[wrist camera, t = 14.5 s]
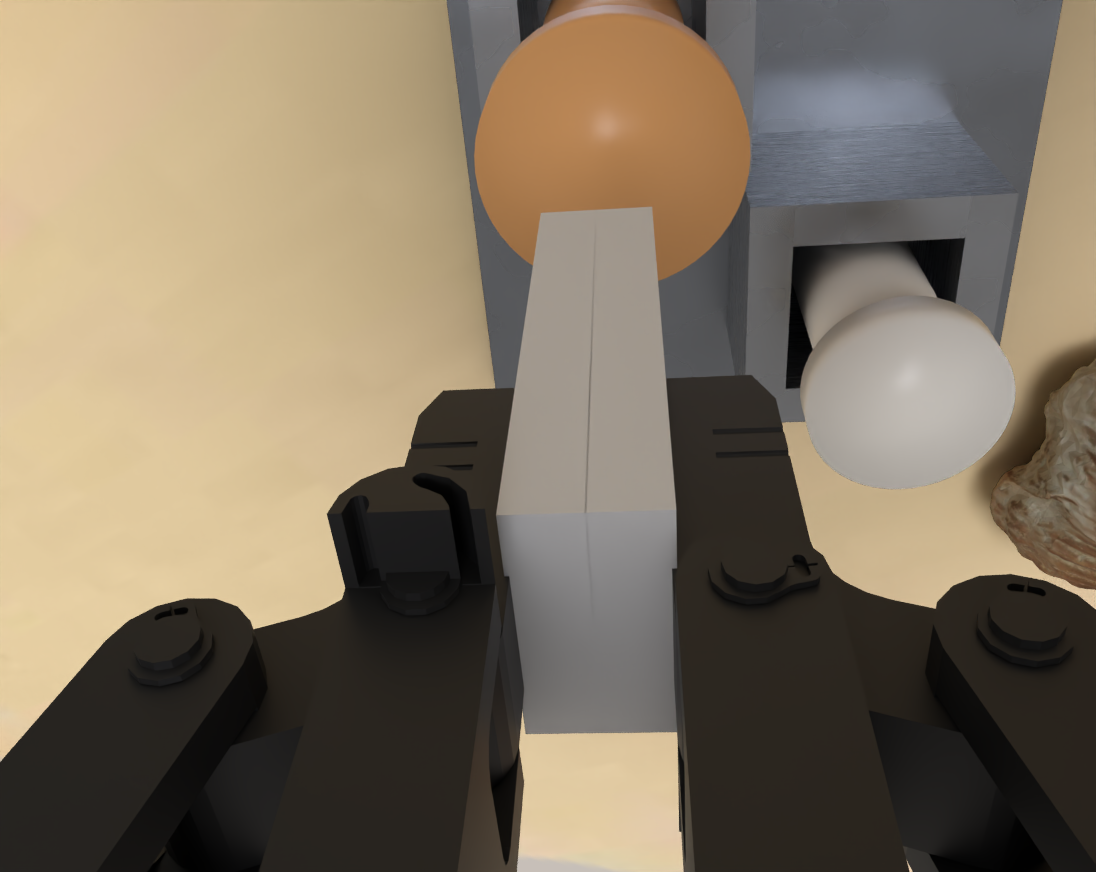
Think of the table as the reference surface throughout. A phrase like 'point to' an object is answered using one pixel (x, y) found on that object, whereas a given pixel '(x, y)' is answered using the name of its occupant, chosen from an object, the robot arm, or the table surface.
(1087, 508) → the seashell
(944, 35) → the gray socket stand
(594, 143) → the plug terracotta
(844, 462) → the plug
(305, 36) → the table surface
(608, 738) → the table surface
